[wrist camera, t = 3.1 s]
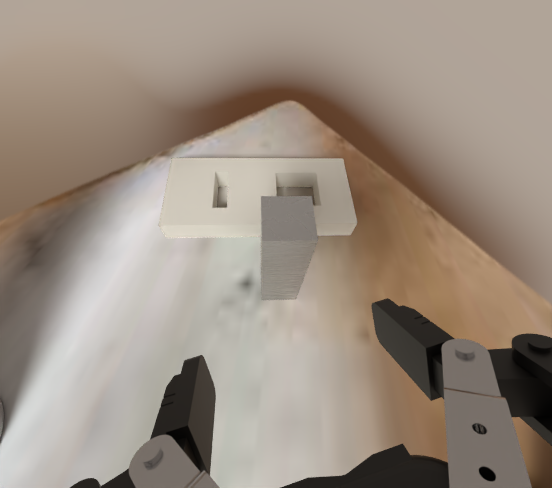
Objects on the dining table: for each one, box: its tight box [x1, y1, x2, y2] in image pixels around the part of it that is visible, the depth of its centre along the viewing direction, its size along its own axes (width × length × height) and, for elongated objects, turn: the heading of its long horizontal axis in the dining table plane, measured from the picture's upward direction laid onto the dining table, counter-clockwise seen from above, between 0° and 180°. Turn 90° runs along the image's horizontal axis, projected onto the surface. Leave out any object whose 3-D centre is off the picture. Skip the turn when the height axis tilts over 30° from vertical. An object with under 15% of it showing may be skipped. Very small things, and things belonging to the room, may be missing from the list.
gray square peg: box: [261, 196, 318, 300], centre depth 26 cm, size 4×4×14 cm
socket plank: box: [159, 158, 357, 238], centre depth 37 cm, size 24×11×3 cm, turn 93°
